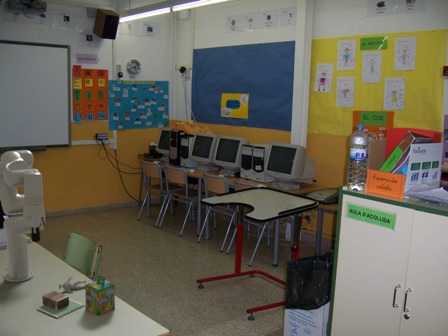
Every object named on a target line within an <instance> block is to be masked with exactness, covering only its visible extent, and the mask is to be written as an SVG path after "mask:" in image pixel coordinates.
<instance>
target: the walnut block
mask: <svg viewBox="0 0 448 336" xmlns="http://www.w3.org/2000/svg"><path fill="white" fill-rule="evenodd" d="M41 297H42V298H41V299H42V306H43V305H46V306H48V307H51V308H53V309H56V310H60V309H62V308H64V307H66V306H68V305H69V299H70V297H69V295H67V294H63V293H61V292H59V291H55V290H53V291H50V292H48V293H46V294H43V295H42V296H41Z"/></svg>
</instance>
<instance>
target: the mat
mask: <svg viewBox="0 0 448 336" xmlns="http://www.w3.org/2000/svg"><path fill="white" fill-rule="evenodd" d="M83 307H85V304H83V303H81V302H79V301H76V300H73V299H72V298H69V305H68V306H66V307H64V308H62V309H60V310H56V309H53V308H51V307H48V306H46V305H43V304H42V305H41V306H39V307H36V308H35V309H36V310H37V311H39V312H41V313H43V314H46V315H49V316H51V317H53V318H55V319H58V320H59V318H62V317H64V316H65V315H68V314H70V313H72V312H75V311H76V310H78V309H81V308H83Z"/></svg>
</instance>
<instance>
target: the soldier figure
mask: <svg viewBox="0 0 448 336" xmlns="http://www.w3.org/2000/svg"><path fill="white" fill-rule="evenodd" d="M73 278H74V277H73V276H72V277H69V278H68V279H67V280H66V281H65V282H63V284H58V289H59V290H61V288H63V290H64V291H66V292H67V293H74V292H75V290H78V289H79V290H81V289H83V288H85V285H82V286H81V285H79V284H87V280H84V281H81V280H78V281H75V282H74V283H71V282H70V281H71V280H72V279H73Z"/></svg>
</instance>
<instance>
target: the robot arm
mask: <svg viewBox="0 0 448 336" xmlns="http://www.w3.org/2000/svg"><path fill="white" fill-rule="evenodd" d="M34 162H35V158H34V155H33V153H32V152H31V151H30V150H27V149H23V150H22V149H21V150H7V151H5V152H4V153H2V154H1V156H0V203H1V207H2V211H3V213H4V214H5V215H7V216H9V217H7V218H5V220H4V221H3V229H4V234H5V239H6V249H7V252H6V253H7V265H8V266H7V268H5V270H6V271H7V273H8V274H6V275H5V281H6V282H10V283H21V282H26V281H28V280H31V279H32V278H33V277H34V273H33V271H31V270H30V260H29V259H30V258H29V257H30V254H29V242H28V240H27V239H26V238H25V237H24V236H23V235H26V234H30V236H31V242H32V243H36V242H40V240H41V232H42V231H44V230H45V226H46V220H47V219H46V211H45V205H44V189H43V186H44V185H43V174H42V173H41V172H40V171H39V170H38V169H36V168H33V165H34ZM22 187H23V194H19V192H18V188H22Z"/></svg>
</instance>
